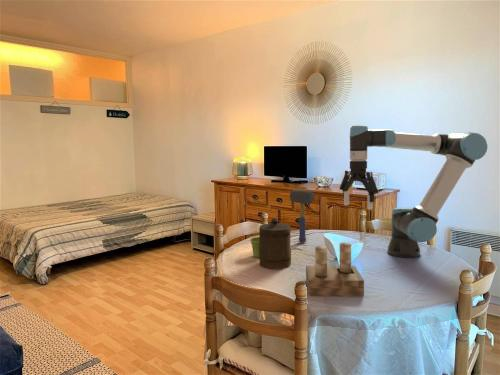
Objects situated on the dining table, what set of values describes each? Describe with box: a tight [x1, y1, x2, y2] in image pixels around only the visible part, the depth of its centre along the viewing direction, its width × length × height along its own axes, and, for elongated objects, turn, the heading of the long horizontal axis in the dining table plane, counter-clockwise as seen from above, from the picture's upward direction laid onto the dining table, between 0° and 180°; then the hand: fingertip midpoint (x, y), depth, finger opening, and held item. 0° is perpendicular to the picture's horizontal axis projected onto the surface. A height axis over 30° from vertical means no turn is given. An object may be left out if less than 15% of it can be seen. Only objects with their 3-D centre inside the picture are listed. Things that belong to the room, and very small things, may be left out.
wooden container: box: [258, 217, 292, 270], centre depth 175 cm, size 15×15×22 cm
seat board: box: [305, 245, 365, 297], centre depth 145 cm, size 20×16×17 cm
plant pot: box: [249, 236, 260, 259], centre depth 188 cm, size 9×9×9 cm
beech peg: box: [339, 241, 352, 274], centre depth 147 cm, size 5×5×14 cm
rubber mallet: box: [289, 189, 315, 244], centre depth 208 cm, size 12×8×30 cm, turn 53°
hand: (357, 207), depth 170 cm, fingers open, 13 cm apart
